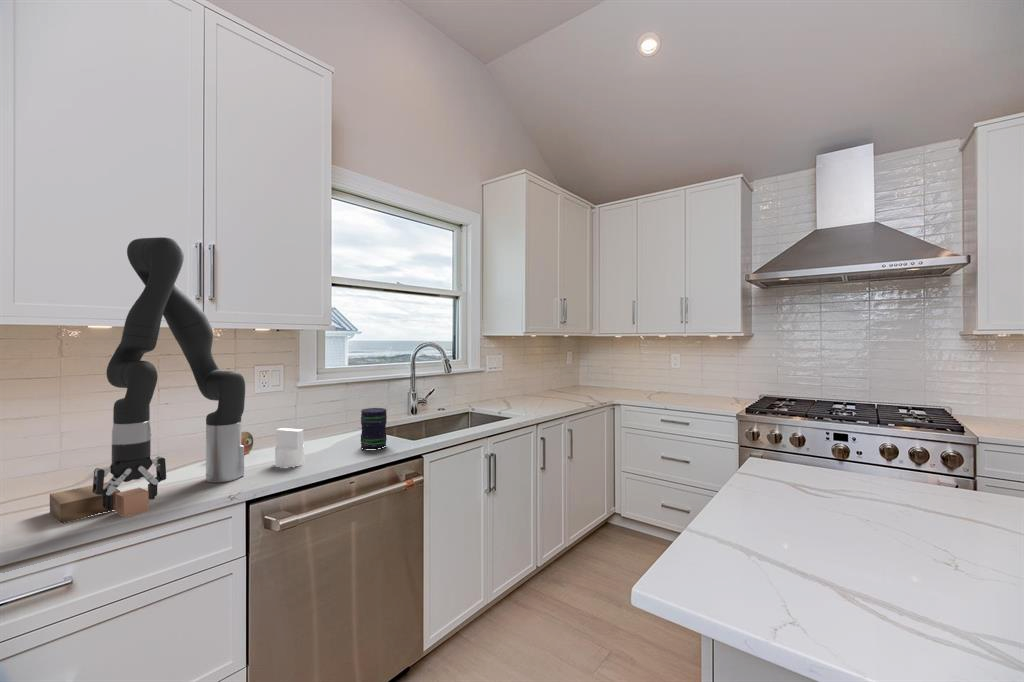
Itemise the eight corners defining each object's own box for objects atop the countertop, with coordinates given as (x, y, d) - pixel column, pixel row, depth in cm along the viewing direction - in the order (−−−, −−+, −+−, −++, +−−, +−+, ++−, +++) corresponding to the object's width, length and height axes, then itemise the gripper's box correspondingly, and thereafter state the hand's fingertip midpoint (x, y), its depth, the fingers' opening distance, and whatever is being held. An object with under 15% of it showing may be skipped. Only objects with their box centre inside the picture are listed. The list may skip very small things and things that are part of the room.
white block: (268, 467, 154) (268, 431, 153) (287, 459, 162) (288, 426, 162) (291, 469, 152) (291, 433, 151) (309, 461, 160) (309, 427, 160)
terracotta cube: (139, 506, 118) (139, 487, 118) (148, 510, 116) (148, 491, 116) (115, 513, 114) (115, 493, 114) (124, 517, 111) (123, 497, 111)
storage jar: (379, 443, 188) (379, 407, 188) (391, 447, 181) (391, 410, 181) (356, 447, 182) (356, 409, 181) (367, 452, 174) (367, 413, 174)
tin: (221, 462, 158) (221, 438, 158) (213, 462, 158) (213, 438, 158) (254, 451, 172) (254, 429, 172) (246, 451, 173) (247, 429, 173)
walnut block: (107, 500, 122) (107, 482, 122) (120, 510, 116) (120, 491, 116) (49, 513, 113) (49, 493, 113) (60, 525, 107) (60, 504, 107)
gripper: (158, 433, 122) (157, 493, 123) (88, 443, 110) (88, 510, 110) (171, 436, 119) (170, 498, 119) (101, 447, 106) (100, 516, 107)
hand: (130, 504), depth 115 cm, fingers open, 8 cm apart
